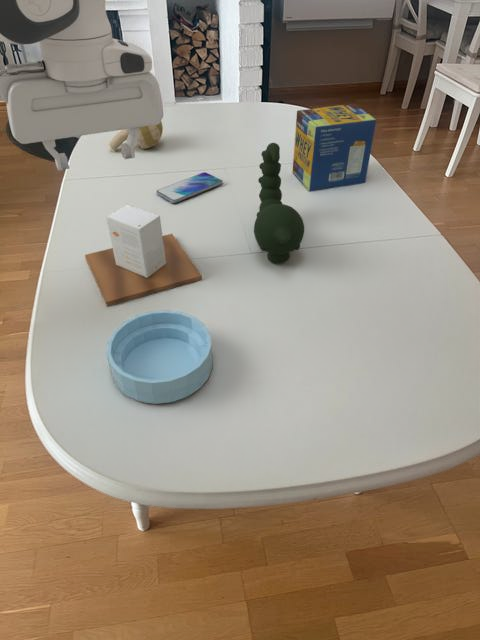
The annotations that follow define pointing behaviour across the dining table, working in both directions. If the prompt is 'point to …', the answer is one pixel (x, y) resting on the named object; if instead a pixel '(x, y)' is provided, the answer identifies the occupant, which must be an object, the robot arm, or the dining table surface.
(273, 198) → the toy figurine
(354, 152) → the protein box
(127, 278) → the brown wooden board
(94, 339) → the dining table surface
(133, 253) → the small box
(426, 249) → the dining table surface
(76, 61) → the robot arm
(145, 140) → the mushroom
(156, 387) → the bowl
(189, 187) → the smartphone
